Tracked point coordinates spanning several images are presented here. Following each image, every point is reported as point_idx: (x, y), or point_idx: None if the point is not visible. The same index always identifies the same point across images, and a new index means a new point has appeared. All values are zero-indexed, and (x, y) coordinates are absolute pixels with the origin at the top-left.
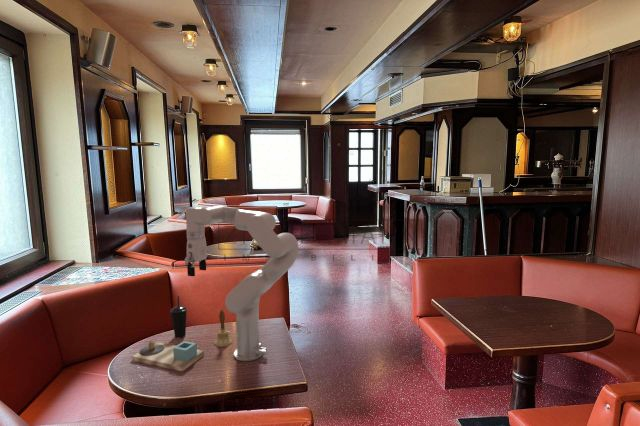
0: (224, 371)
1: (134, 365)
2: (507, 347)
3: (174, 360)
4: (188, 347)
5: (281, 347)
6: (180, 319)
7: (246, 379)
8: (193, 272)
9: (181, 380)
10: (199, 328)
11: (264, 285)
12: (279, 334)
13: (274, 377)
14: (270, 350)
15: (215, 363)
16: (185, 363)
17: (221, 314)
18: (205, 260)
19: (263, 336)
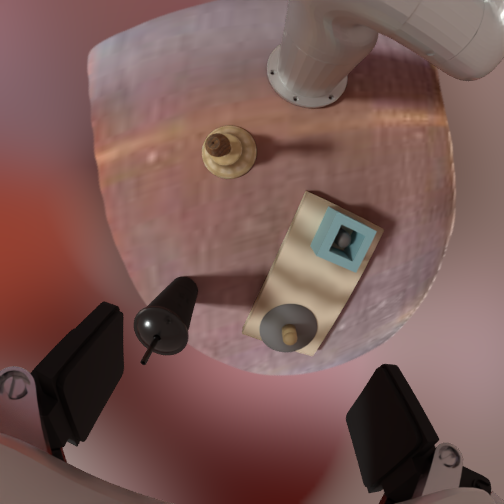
0: (387, 126)
1: (333, 337)
2: None
3: None
4: (360, 229)
5: (269, 5)
6: (186, 309)
7: (414, 81)
8: (407, 397)
9: (411, 218)
10: (135, 250)
11: None
12: (189, 17)
13: None
14: None
15: (352, 151)
16: (371, 225)
17: (226, 143)
18: (25, 389)
19: (196, 49)
